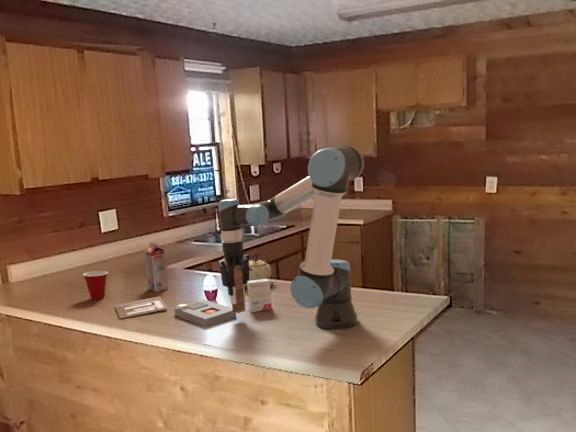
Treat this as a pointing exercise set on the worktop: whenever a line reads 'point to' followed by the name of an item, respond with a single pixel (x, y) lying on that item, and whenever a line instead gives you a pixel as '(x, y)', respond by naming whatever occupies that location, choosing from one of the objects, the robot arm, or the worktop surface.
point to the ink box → (259, 295)
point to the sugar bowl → (258, 269)
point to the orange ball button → (210, 311)
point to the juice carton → (156, 268)
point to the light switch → (145, 304)
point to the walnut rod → (238, 290)
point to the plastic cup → (96, 283)
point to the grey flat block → (198, 309)
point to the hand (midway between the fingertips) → (238, 301)
